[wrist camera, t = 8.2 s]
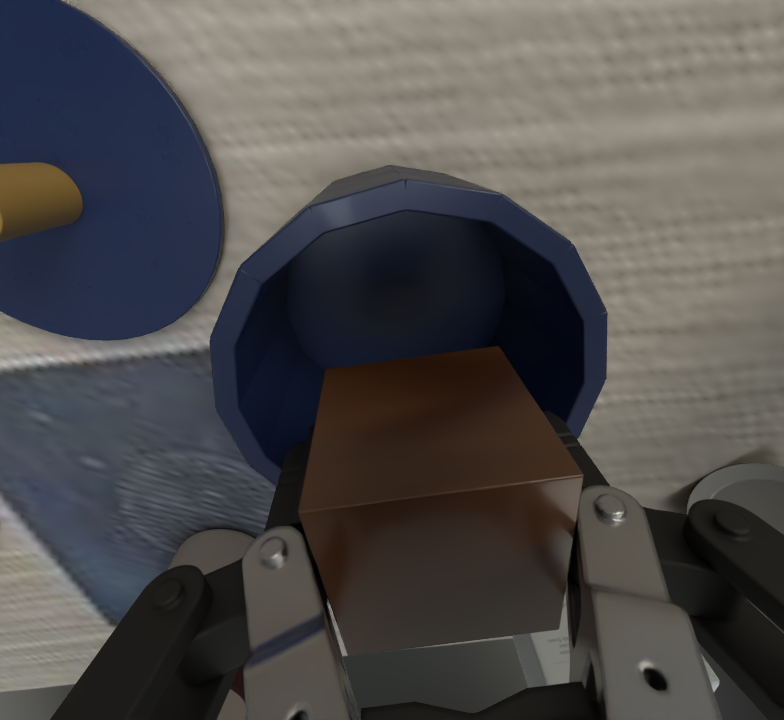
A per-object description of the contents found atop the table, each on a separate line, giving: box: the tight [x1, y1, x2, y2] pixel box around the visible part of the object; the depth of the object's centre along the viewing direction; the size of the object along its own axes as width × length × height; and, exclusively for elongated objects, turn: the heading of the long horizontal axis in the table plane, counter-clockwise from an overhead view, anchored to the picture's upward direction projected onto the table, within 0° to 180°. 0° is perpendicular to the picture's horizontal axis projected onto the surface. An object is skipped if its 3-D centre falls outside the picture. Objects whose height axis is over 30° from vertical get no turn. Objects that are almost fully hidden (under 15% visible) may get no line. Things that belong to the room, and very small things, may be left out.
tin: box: [210, 165, 607, 486], centre depth 18 cm, size 14×14×10 cm
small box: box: [512, 592, 719, 692], centre depth 25 cm, size 8×6×13 cm
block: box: [298, 346, 584, 656], centre depth 10 cm, size 5×5×5 cm
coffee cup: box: [166, 529, 255, 720], centre depth 25 cm, size 10×10×15 cm
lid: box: [0, 0, 224, 340], centre depth 16 cm, size 15×15×6 cm
